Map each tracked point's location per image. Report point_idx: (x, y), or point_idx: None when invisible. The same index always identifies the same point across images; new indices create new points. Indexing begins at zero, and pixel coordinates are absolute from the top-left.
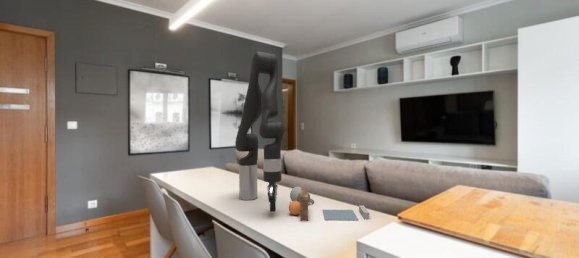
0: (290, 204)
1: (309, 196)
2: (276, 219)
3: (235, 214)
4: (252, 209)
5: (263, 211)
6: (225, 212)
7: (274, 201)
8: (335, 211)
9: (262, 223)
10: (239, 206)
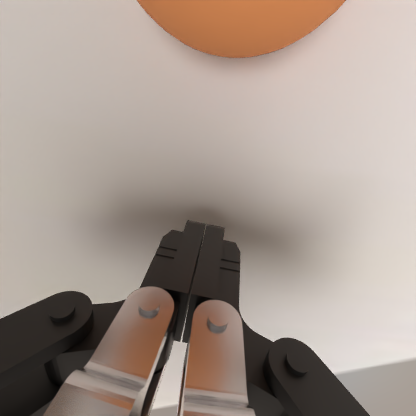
0: (283, 6)
1: None
2: (353, 207)
3: (175, 388)
4: None
5: (118, 272)
6: None
7: (323, 367)
8: None
9: (402, 307)
10: None
